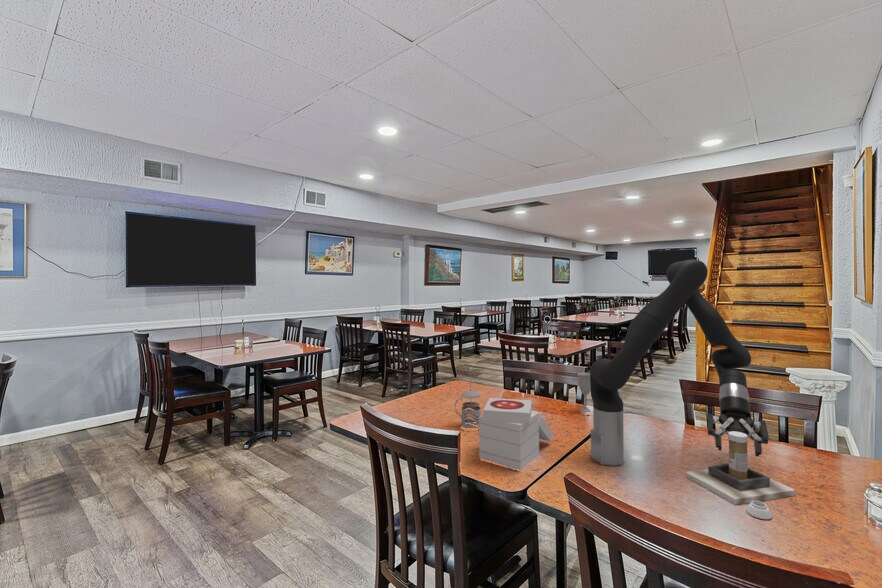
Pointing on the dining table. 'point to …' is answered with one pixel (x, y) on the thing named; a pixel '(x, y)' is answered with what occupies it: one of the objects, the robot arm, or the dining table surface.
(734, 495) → the condiment holder
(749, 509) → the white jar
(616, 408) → the robot arm
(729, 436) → the sprinkles bottle
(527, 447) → the stack of boxes
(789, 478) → the dining table surface
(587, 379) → the chalice
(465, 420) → the french press
